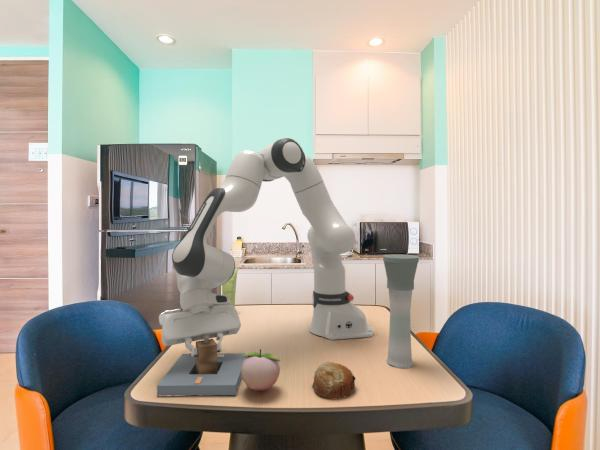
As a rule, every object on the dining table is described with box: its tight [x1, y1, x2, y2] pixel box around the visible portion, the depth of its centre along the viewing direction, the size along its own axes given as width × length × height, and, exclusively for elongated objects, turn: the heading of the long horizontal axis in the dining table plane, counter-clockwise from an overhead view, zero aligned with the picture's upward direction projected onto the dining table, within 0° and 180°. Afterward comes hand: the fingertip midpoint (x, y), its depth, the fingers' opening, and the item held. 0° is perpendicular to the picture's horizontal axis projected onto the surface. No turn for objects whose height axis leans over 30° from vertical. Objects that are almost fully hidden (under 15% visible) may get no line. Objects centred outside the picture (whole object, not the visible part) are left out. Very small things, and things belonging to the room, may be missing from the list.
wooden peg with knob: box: [195, 333, 218, 374], centre depth 88 cm, size 4×4×10 cm
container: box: [382, 253, 420, 369], centre depth 97 cm, size 10×10×30 cm
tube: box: [221, 267, 239, 309], centre depth 145 cm, size 6×5×20 cm
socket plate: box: [156, 352, 247, 396], centre depth 88 cm, size 18×18×3 cm
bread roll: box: [311, 361, 356, 399], centre depth 83 cm, size 10×10×8 cm
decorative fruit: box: [241, 348, 281, 392], centre depth 81 cm, size 9×8×10 cm
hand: (207, 353), depth 88 cm, fingers closed on wooden peg with knob, 4 cm apart
